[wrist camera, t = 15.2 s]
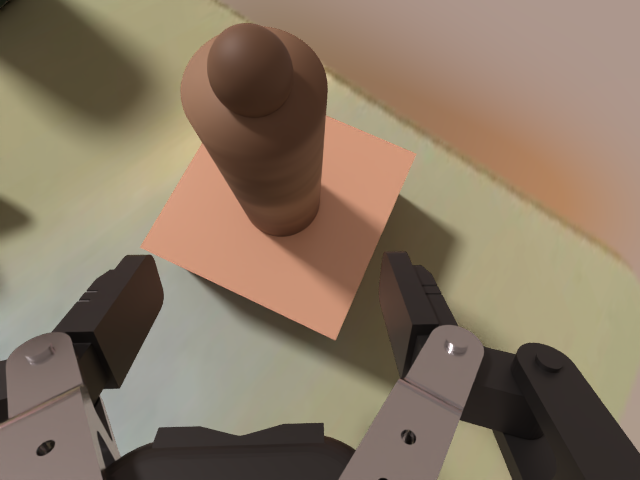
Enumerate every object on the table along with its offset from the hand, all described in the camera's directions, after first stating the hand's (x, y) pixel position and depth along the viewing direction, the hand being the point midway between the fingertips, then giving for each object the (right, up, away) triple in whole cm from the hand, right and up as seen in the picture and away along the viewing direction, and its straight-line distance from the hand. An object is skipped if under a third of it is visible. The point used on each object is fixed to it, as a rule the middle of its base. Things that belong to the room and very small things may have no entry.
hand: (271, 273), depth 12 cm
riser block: (-1, +2, +14) cm, 14 cm away
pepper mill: (-1, +4, +8) cm, 9 cm away
